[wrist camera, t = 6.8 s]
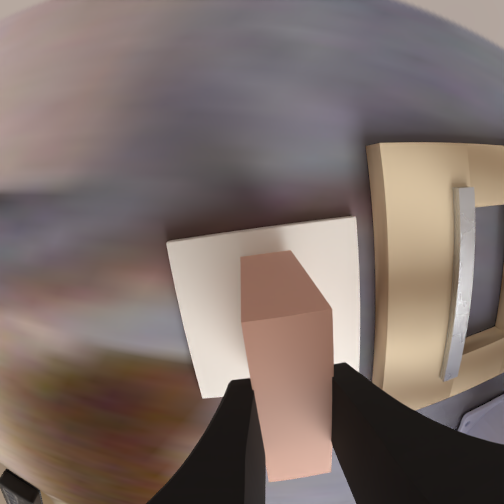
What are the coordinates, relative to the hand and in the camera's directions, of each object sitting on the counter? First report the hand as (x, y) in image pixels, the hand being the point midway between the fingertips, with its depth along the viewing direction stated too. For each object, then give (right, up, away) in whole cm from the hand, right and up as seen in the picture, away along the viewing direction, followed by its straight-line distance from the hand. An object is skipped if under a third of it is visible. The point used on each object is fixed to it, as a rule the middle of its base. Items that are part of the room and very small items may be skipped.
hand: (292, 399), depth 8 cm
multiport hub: (-27, -25, +12) cm, 39 cm away
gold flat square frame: (+12, +3, +6) cm, 13 cm away
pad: (0, +1, +6) cm, 6 cm away
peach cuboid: (0, +1, +5) cm, 5 cm away
